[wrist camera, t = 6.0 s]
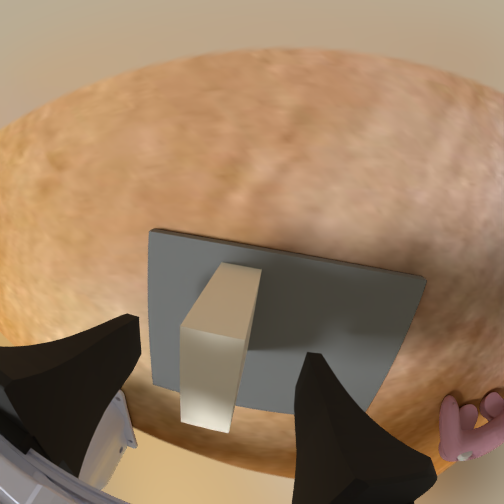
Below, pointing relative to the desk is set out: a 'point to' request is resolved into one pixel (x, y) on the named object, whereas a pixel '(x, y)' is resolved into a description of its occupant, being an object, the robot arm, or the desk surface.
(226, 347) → the block
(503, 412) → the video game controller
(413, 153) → the desk surface
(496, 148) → the desk surface
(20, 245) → the desk surface
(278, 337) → the mat
